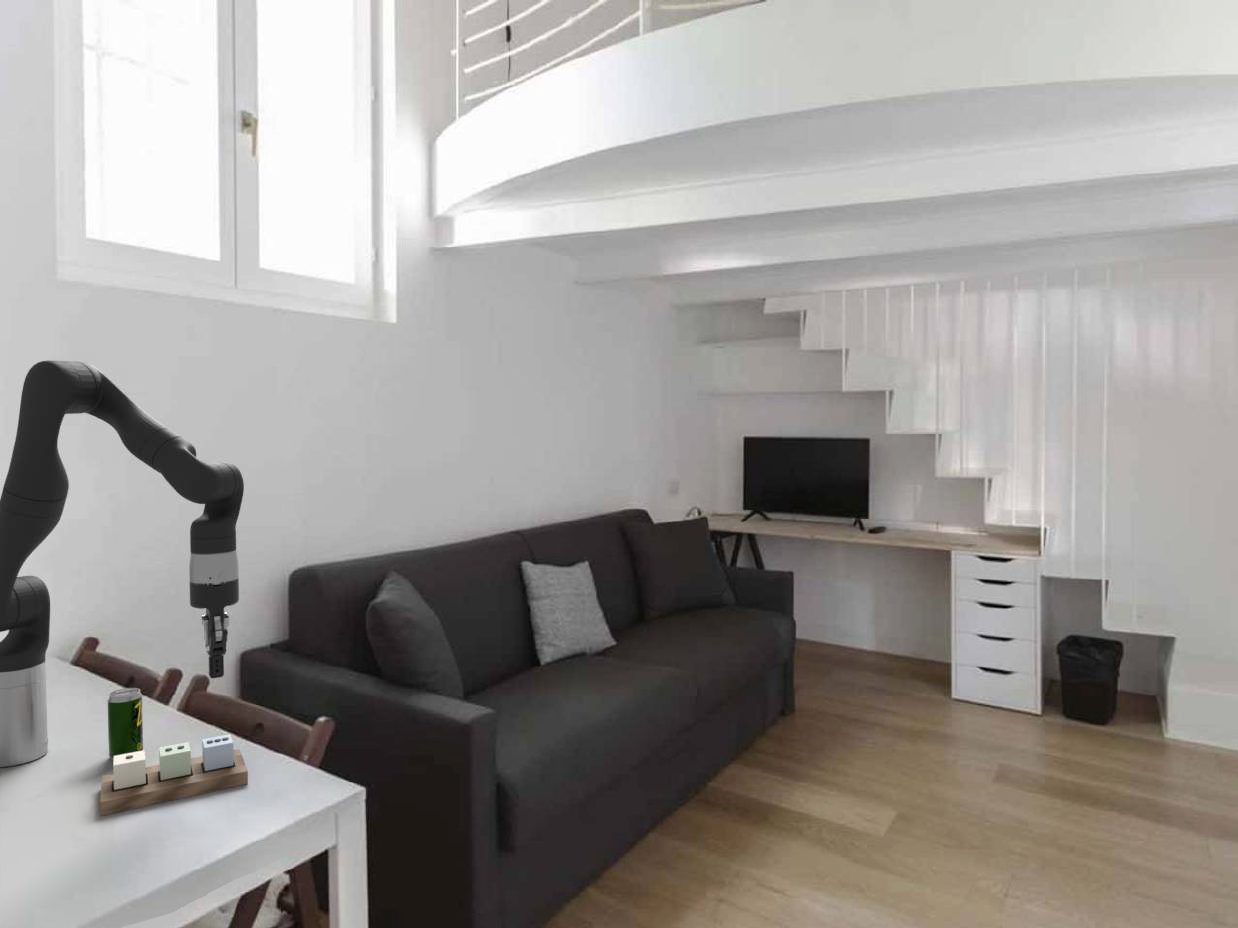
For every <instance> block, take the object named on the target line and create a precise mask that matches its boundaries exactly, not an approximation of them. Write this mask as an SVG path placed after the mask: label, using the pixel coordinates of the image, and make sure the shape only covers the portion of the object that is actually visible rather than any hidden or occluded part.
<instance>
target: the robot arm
mask: <svg viewBox="0 0 1238 928" xmlns="http://www.w3.org/2000/svg"><path fill="white" fill-rule="evenodd" d="M23 381H24V382H23V386H22V390H21V396H20V404H19V414H18V421H17V429H16V434H15V435H16V436H15V440H14V444H13V449H12V454H11V459H10V463H9V467H8V471H7V475H6V477H5V481H4V484H3V488H2V492H1V495H0V633H1V632H7V631H8V633H7V634H6V636H4V638H3V639H2V640H1V641H0V768H4V767H5V768H6V767H13V766H18V765H22V764H27V763H29V762H32V761H35V760H37V759H40V758H41V757H43V756H45V755H46V754H48V751H49V737H48V733H49V732H48V703H47V701H48V700H47V699H48V697H47V671H46V669H47V668H46V667H47V665H46V662H47V661H46V653H47V650H48V647H49V644H50V630H51V629H50V627H51V625H50V623H51V597H50V592H49V589H48V587H47V585H46V583H45V582H44V581H43V580H42V579H41V578H40V577H38V576H35V575H23V576H18V575H19V573H20V571H21V569H22V567H23V565H24V564H25V562H26V560H27V559H28V558H29V557H30V556H31V555H32V553H33V552H34V551H35V550H36V549H37V548H38V547H39V546H40V545H41V544H42V543H43V542H44V541H45V539H47V537H48V536H49V535H50V534H51V533H52V532H53V531H54V530H55V528H56V527H57V525H58V524H59V522H60V520H61V517H62V515H63V512H64V508H65V506H66V505H65V504H66V502H67V498H68V494H69V489H70V488H69V487H70V484H69V483H70V481H69V477H68V475H67V474H68V473H67V470H66V468H65V465H64V463H63V461H62V459H61V455H60V453H59V448H58V439H59V434H60V430H61V426H62V423H63V420H64V417H65V415H69V414H70V415H74V414H76V415H77V414H80V415H81V414H87V415H90V416H92V417H95V418H96V419H99V420H101V421H103V422H104V423H107V424H108V425H109V426H111V427H112V428H113V429H114V430H115V431H116V432H117V435H118V437H119V439H120V441H121V442H122V444H123V446H124V447H125V448H126V449H127V450H128V451H129V453H130V454H132V455H133V456H134V457H135V458H136V459H138V460H139V461H141V462H142V463H144V464H145V465H146V466H148V467H150V468H152V469H153V470H154V471H156V472H157V473H159V474H161V476H162V477H163V478H164V479H165V481H166V482H167V483H168V484H169V485H170V486H171V487H172V488H173V490H175V492H176V493H177V494H178V495H180V497H182V498H184V499H185V500H186V501H189V502H191V503H194V504H199V505H204V508H203V511H202V512H203V513H202V514H201V516H199V517H198V518H196V519H194V520H193V521H192V523H191V524H190V528H189V529H190V530H189V531H190V532H189V541H190V542H189V543H190V545H189V546H190V558H189V569H188V572H189V573H188V574H189V605H190V607H192V608H194V609H200V610H201V609H202V610H204V609H205V614H204V615H201V625H202V627H203V628H202V629H203V640H204V643H205V648H206V649H207V650H206V654H207V657H208V676H209V678H210V679H216V678H217V679H218V678H223V677H224V675H225V668H224V667H225V664H224V662H225V661H224V656H225V655H226V654H227V653H226V652H227V642H228V640H229V639H228V638H229V637H228V634H229V632H228V631H229V630H228V627H229V625H230V615H228V613H227V612H225V608H226V607H232V606H233V605H236V604H237V603H238V602H239V600H240V591H239V590H240V589H239V588H240V585H239V584H240V583H239V580H240V579H239V560H238V559H239V558H238V554H237V530H236V529H237V528H236V526H237V522H238V519H239V515H240V511H241V508H242V507H241V506H242V503H243V497H244V492H245V491H244V489H245V485H244V484H245V483H244V478H243V475H242V472H241V471H240V469H239V468H238V467H237V466H236V465H235V464H234V463H231V462H229V461H223V460H222V461H208V462H207V461H206V462H205V461H203V460H201V459H199V458H198V457H197V451H196V447H195V446H194V445H193V444H192V443H191V442H190V441H188V440H187V439H185V438H184V437H182V436H181V435H179V434H178V433H176V432H175V431H174V430H173V429H171V428H169V427H168V426H166V425H164V424H163V423H161V422H160V421H158V420H157V419H156V418H154V417H152V415H150V414H149V413H148V412H146V411H145V410H144V409H143V408H142V407H140V406H139V405H138V404H137V403H136V402H135V401H134V400H132V399H131V397H129V396H128V395H127V393H125V392H124V391H123V390H122V389H120V388H119V386H118V385H116V383H114V381H112V379H110V378H109V377H108V376H106V374H105V373H104V372H102V371H101V369H99V368H97V367H96V366H94V365H92V364H91V363H87V362H85V361H74V360H73V361H70V360H69V361H68V360H42V361H39V362H37V363H35V364H33V365H32V367H30V369H29V370H28V371H27V373H26V376H25V378H24V380H23Z"/></svg>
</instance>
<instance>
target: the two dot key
mask: <svg viewBox="0 0 1238 928" xmlns="http://www.w3.org/2000/svg"><path fill="white" fill-rule="evenodd" d="M158 753H159V756H158V757H159V765H160V778H161V780H165V779H169V778H174V777H179V776H184V775H189V774H191V758H192V757H191V756H192V755H191V753H192V752H191V747H190V742H189V741H186V742H181V743H175V744H171V745H165V746H161V747H158Z"/></svg>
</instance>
